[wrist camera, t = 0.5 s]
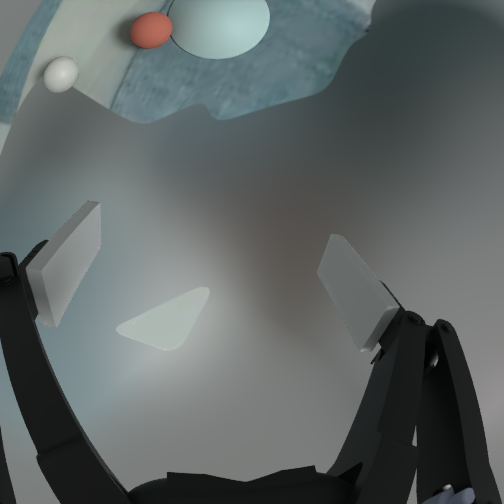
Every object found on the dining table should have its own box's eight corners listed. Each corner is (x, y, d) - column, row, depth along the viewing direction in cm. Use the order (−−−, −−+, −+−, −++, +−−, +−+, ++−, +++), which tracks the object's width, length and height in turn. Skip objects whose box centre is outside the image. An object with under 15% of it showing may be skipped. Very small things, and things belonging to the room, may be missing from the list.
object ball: (143, 16, 26) (134, 5, 21) (180, 21, 27) (175, 9, 22) (131, 49, 28) (119, 42, 23) (167, 54, 29) (160, 47, 25)
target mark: (188, -29, 23) (188, -29, 22) (281, -6, 26) (282, -6, 26) (153, 48, 29) (153, 48, 29) (250, 70, 32) (251, 70, 32)
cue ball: (60, 58, 26) (42, 55, 21) (89, 58, 27) (72, 54, 22) (51, 91, 28) (32, 92, 23) (79, 93, 30) (62, 93, 25)
